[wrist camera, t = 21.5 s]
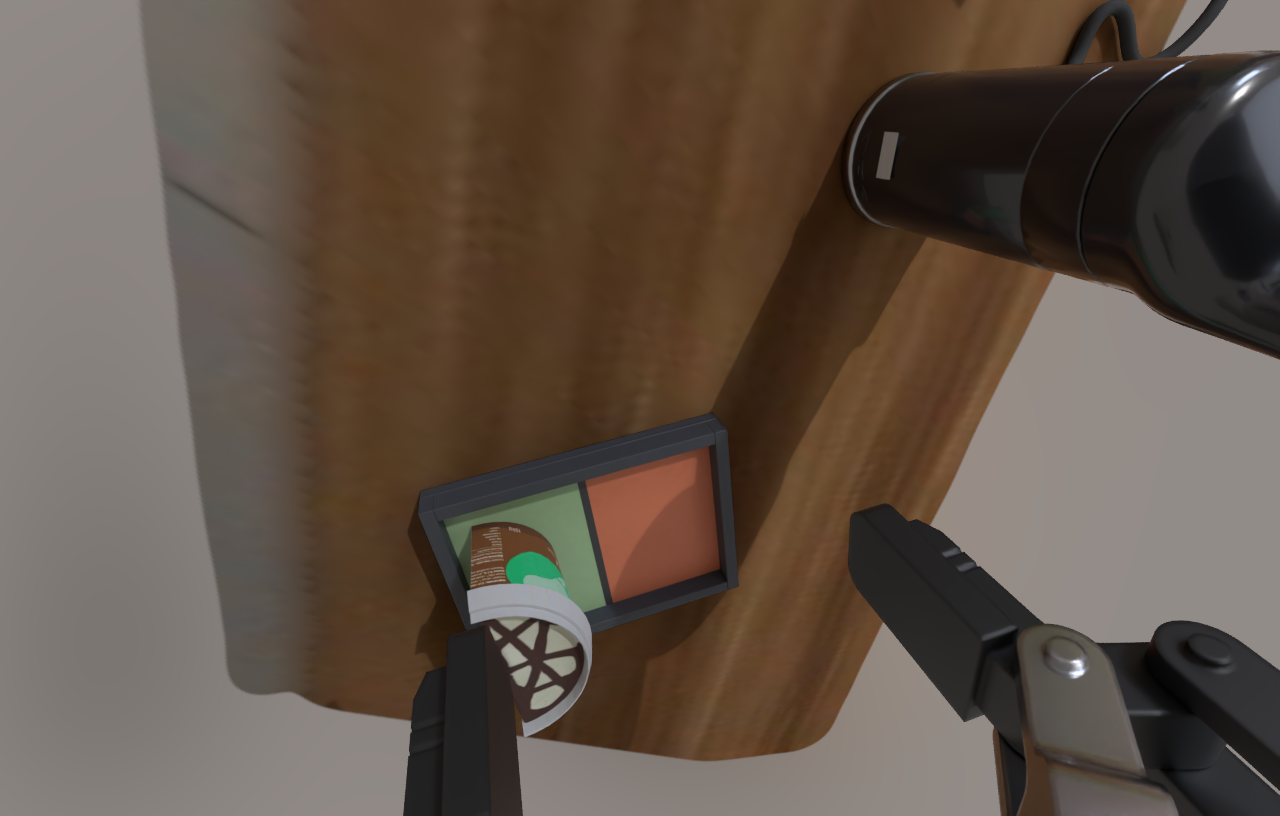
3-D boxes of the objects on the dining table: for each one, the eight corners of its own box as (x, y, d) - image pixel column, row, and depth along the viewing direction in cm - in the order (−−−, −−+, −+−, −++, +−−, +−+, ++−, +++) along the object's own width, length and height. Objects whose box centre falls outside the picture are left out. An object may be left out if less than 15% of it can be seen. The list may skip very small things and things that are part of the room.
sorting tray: (712, 412, 44) (727, 429, 42) (726, 564, 52) (739, 586, 50) (419, 490, 41) (417, 514, 38) (481, 642, 49) (482, 670, 46)
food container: (586, 601, 48) (615, 708, 40) (513, 626, 47) (526, 742, 39) (549, 484, 42) (573, 580, 33) (464, 510, 41) (467, 617, 32)
